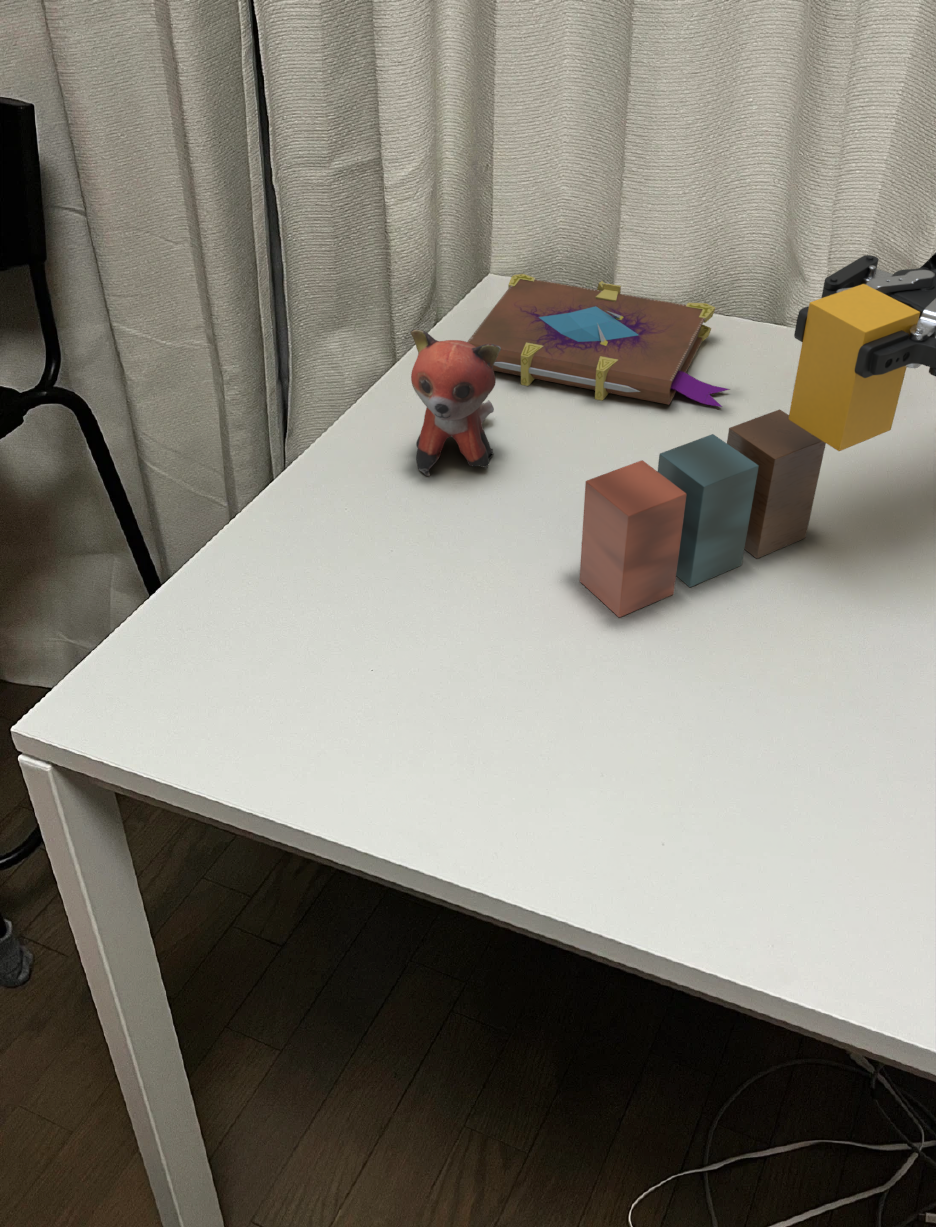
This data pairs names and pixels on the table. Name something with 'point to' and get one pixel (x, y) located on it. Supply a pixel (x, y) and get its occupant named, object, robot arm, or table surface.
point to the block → (847, 367)
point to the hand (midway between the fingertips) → (830, 344)
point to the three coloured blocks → (697, 511)
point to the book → (598, 340)
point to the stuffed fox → (453, 397)
